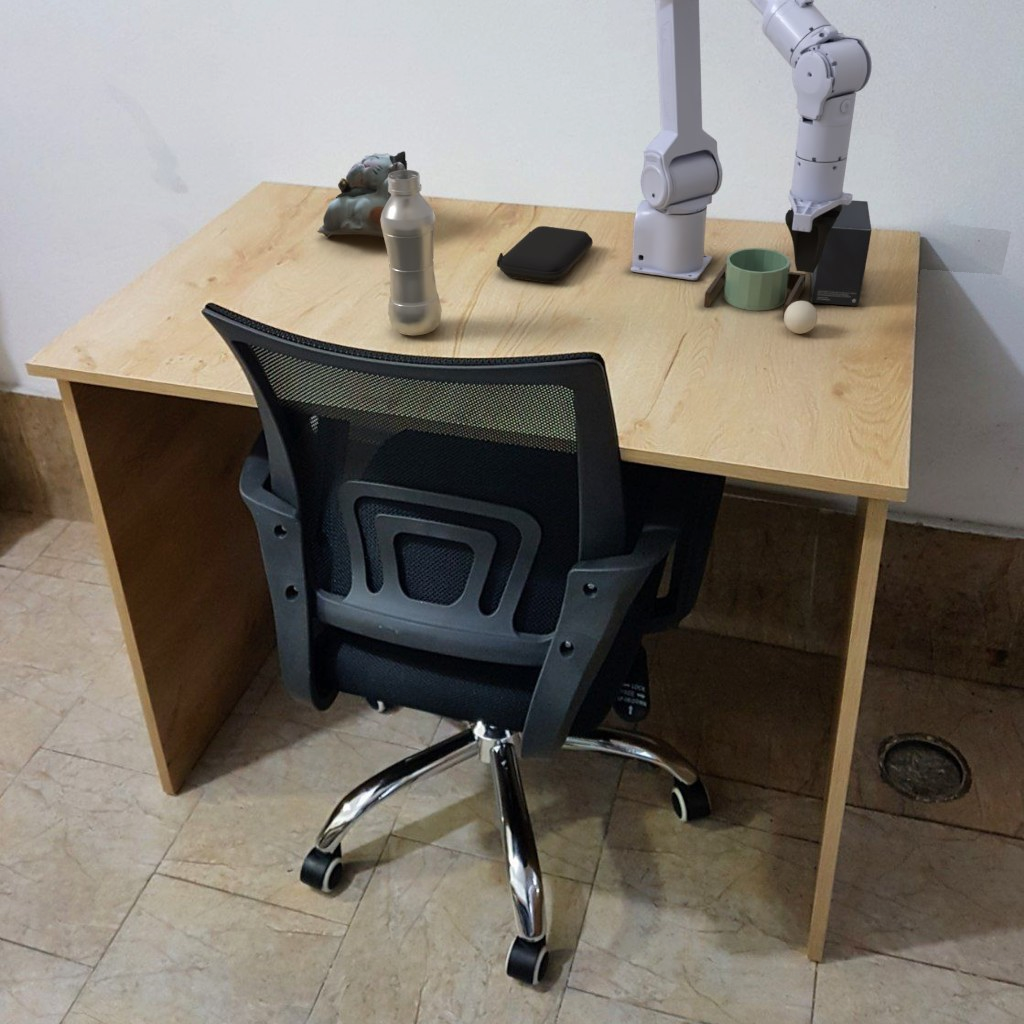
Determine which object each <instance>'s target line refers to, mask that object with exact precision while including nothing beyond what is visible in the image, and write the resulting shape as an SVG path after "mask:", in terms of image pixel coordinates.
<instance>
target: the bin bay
mask: <svg viewBox="0 0 1024 1024" xmlns="http://www.w3.org/2000/svg"><path fill="white" fill-rule="evenodd" d="M725 271H726V263H724V265H723V267H722V268H721V270H719V273H718V274H717V275H716V276H715V278H714V279H713V280H712V282H711V284H710V285H709V287H707V289H706V291H705V293H704V304H703V305H704V308H709V307H710V306H711V305H712V303H713V302H714V300H715V299H716V297H717V296H718V295H719V293H720V291H721V290H722V288H724V283H725ZM806 276H807V274H806V273H804V272H794V271H790V273H789V281H788V288H790V289H791V291H790V293H789V295H788V296H787V298H786V301H785V303H784V304H783V313H782V319H784V314H785V311H786V309H787V308H788V306H789V305H791V304H792V303H794V302H796V301H799V298H800V297H801V295H802V292H803V291H804V289H805V285H806Z"/></svg>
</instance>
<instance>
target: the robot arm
mask: <svg viewBox="0 0 1024 1024" xmlns="http://www.w3.org/2000/svg"><path fill="white" fill-rule="evenodd" d="M747 1H748V2H749V3H750V4H751V5H752V7H754V8H755V9H756V11H758V12H759V13H760V14H761V15H762V21H761V30H762V33H763V35H764V36H765V37H766V38H767V39H768V41H769V43H771V44H772V46H773V47H774V48H775V49H776V50H777V52H778V53H779V54H780V55H781V56H782V58H783V59H784V60H785V62H787V64H788V65H789V66H790V67H791V68H792V69H791V79H792V84H793V87H794V90H795V93H796V107H795V108H796V109H797V114H798V115H799V117H798V127H797V136H796V144H795V154H794V162H793V169H792V170H793V171H792V180H791V188H790V190H789V191H788V201H789V203H790V206H791V207H790V209H788V210H787V212H786V213H785V217H784V220H785V224H786V226H787V228H788V231H789V233H790V237H791V240H792V246H793V256H794V264H795V270H796V272H801V273H809V274H810V273H814V271H815V269H816V267H817V265H818V263H819V261H820V258H821V255H822V252H823V249H824V246H825V243H826V240H827V237H828V234H829V232H830V229H831V228H832V226H833V225H834V223H835V222H836V220H837V217H838V216H839V214H840V212H841V211H842V205H849V204H850V203H851V201H852V200H853V198H854V197H853V193H851V192H850V193H849V192H844V183H845V176H846V169H847V161H848V154H849V147H850V140H851V132H852V125H853V119H854V112H855V106H856V105H855V104H856V98H857V93H859V92H860V91H862V90H863V89H864V88H865V87H866V86H867V84H868V83H869V80H870V77H871V74H872V67H873V66H872V64H873V63H872V57H871V53H870V50H869V49H868V47H867V46H866V44H865V42H864V40H863V39H862V38H860V37H858V36H855V35H849V36H848V35H845V33H843V32H839V30H838V29H837V28H836V26H835V25H832V24H831V22H830V21H828V19H827V18H826V17H825V16H824V14H822V12H821V11H820V10H819V9H818V7H816V5H815V4H814V2H815V0H747ZM654 3H655V30H656V31H655V32H656V54H657V74H658V75H657V77H658V78H657V79H658V100H659V122H660V123H659V124H660V131H659V132H658V134H657V135H656V136H655V137H654V138H653V139H652V141H651V142H649V144H648V145H647V146H646V147H645V149H644V150H643V166H642V169H641V174H640V180H639V181H640V182H639V183H640V191H641V193H642V196H643V198H644V199H642V200H641V201H640V202H639V204H638V206H637V208H636V211H635V215H634V218H633V219H634V220H633V227H632V228H633V230H632V231H633V232H632V233H633V234H632V260H631V261H632V265H631V267H630V271H631V272H634V273H637V274H638V273H639V274H646V275H653V276H659V277H660V276H661V277H668V278H675V279H680V280H688V281H697V280H698V279H699V278H700V277H701V275H702V274H703V273H704V271H705V270H706V269H707V267H708V265H709V264H710V263H711V261H712V259H713V257H712V255H707V254H704V253H705V240H706V239H705V238H706V228H707V227H706V225H707V211H708V205H711V204H712V203H713V196H715V195H716V194H717V193H718V192H719V191H720V189H721V186H722V183H723V175H724V174H723V167H722V163H721V160H720V158H719V153H718V141H717V140H716V139H715V138H714V137H713V136H712V135H710V134H709V133H707V132H706V131H705V130H704V129H703V105H702V104H703V103H702V101H703V100H702V67H701V65H702V64H701V61H702V60H701V28H700V27H701V26H700V24H701V23H700V21H701V20H700V0H654ZM841 204H842V205H841Z"/></svg>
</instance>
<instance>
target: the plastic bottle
mask: <svg viewBox="0 0 1024 1024" xmlns="http://www.w3.org/2000/svg"><path fill="white" fill-rule="evenodd" d="M388 184H389V186H388V191H389V193H391V197H390V198H389V200H388V201H387V203H386V205H385V207H384V209H383V211H382V214H381V219H380V221H381V227H382V231H383V235H384V237H383V238H384V244H385V248H386V253H387V261H388V263H389V264H388V266H389V267H388V268H389V297H388V298H389V299H388V309H387V311H388V312H387V314H388V318H389V321H390V325H391V326H392V327H393V329H394V330H395V331H396V332H397V333H399V334H401V335H406V336H421V335H426V334H429V333H431V332H434V331H435V330H436V329H437V328H438V326H439V325H440V323H441V319H442V311H443V309H442V304H441V300H440V296H439V293H438V289H437V288H438V287H437V281H436V274H435V268H434V267H435V264H434V262H435V261H434V259H435V257H434V243H435V231H436V214H435V212H434V209H433V207H432V206H431V204H429V201H427V199H425V197H424V196H423V195H422V194H421V193H420V192H421V191H422V188H423V187H422V184H421V175H420V172H419V171H416V170H413V169H407V170H399V171H394V172H391V173H390V174H389V175H388Z"/></svg>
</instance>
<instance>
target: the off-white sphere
mask: <svg viewBox="0 0 1024 1024" xmlns="http://www.w3.org/2000/svg"><path fill="white" fill-rule="evenodd" d="M818 316H819V315H818V311H817V309H816V307H815V306H814V305H813V303H811V302H809V301H807V300H797V301H796V302H794V303H792V304H791V305H789V306H788V308H787V309H786V311H785V314H784V318H783V322H784V324H785V327H786V328H787V329H788V330H789V331H790V332H792V333H793V334H798V335H800V334H801V335H802V334H806V333H808V332H811V330H812V329H814V327H815V326H816V325H817V322H818V318H819V317H818Z"/></svg>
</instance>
